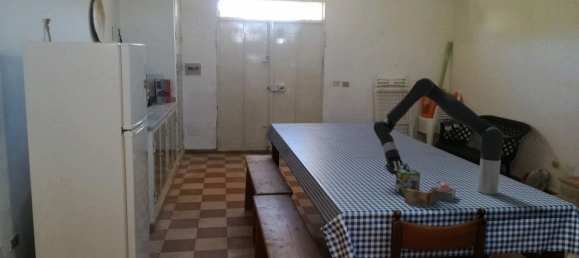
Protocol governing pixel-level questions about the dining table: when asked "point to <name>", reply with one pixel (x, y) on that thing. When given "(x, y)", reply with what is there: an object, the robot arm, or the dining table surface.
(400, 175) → the chalk box
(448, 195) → the dome collar
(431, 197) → the corner fence
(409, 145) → the dining table surface
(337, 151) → the dining table surface
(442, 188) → the dome
